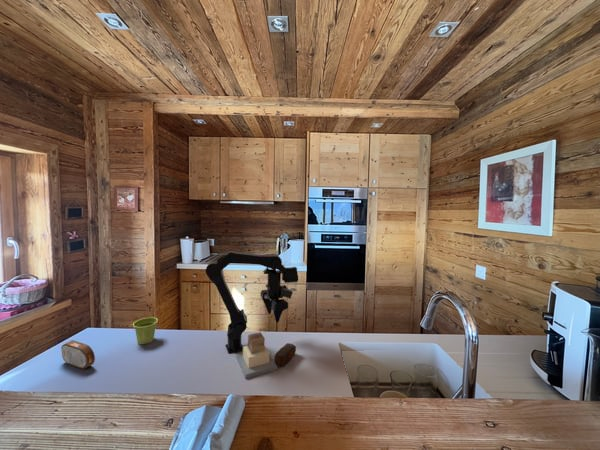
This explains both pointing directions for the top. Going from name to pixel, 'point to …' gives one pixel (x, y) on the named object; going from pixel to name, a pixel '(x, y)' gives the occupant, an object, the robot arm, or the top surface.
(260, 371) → the foundation
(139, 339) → the plant pot
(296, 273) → the robot arm
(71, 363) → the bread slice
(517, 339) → the top surface
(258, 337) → the tan cube
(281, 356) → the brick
